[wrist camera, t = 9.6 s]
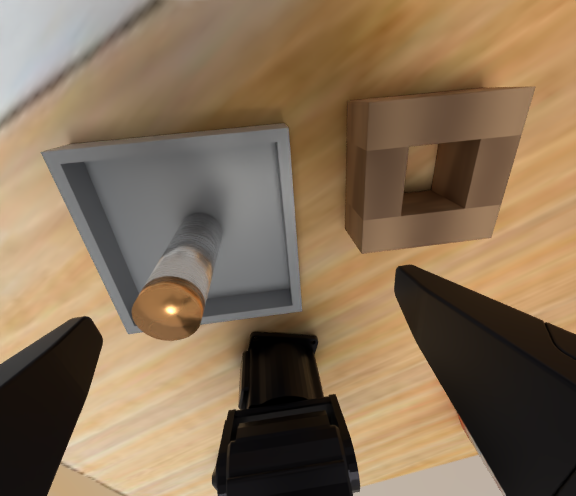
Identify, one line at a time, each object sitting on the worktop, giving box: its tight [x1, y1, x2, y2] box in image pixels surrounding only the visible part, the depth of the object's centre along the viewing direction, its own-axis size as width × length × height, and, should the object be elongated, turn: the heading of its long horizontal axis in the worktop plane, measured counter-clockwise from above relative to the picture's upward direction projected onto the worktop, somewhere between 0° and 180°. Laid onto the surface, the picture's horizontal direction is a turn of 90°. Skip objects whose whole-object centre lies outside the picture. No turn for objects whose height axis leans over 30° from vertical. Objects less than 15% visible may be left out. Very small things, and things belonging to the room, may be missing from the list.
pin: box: [132, 212, 223, 341], centre depth 17 cm, size 3×3×9 cm
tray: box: [41, 123, 302, 334], centre depth 20 cm, size 13×13×3 cm
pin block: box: [345, 87, 535, 254], centre depth 19 cm, size 9×9×4 cm
